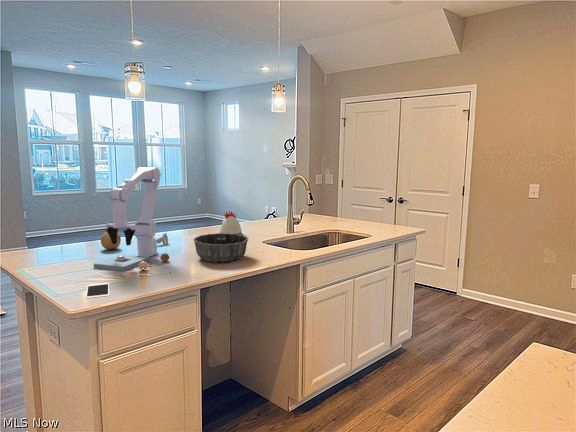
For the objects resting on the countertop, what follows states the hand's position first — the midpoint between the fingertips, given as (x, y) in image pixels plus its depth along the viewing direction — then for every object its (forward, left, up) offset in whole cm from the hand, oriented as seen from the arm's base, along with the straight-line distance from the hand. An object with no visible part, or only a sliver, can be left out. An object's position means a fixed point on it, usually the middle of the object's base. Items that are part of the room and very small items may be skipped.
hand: (121, 244), depth 190 cm
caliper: (-36, -9, -10) cm, 38 cm away
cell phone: (+33, +16, -10) cm, 38 cm away
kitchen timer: (-82, +15, -10) cm, 84 cm away
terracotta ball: (+5, +15, -7) cm, 17 cm away
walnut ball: (-11, +15, -7) cm, 20 cm away
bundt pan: (-26, +37, -10) cm, 46 cm away
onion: (-23, -26, -10) cm, 36 cm away
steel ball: (0, -1, -7) cm, 7 cm away
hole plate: (0, 0, -9) cm, 9 cm away
